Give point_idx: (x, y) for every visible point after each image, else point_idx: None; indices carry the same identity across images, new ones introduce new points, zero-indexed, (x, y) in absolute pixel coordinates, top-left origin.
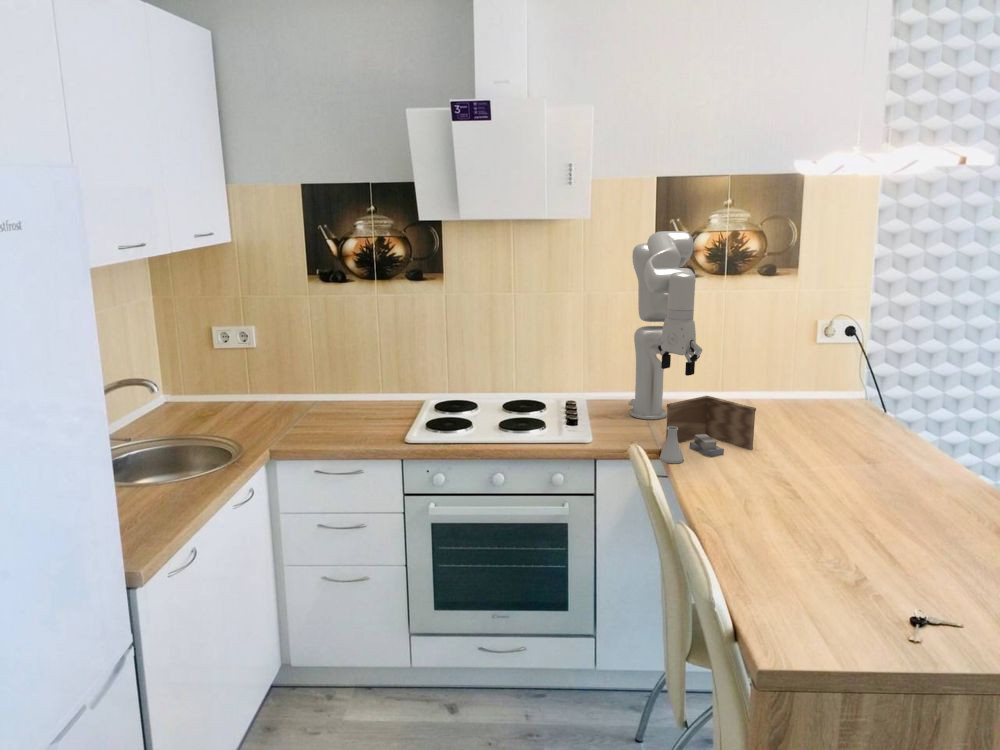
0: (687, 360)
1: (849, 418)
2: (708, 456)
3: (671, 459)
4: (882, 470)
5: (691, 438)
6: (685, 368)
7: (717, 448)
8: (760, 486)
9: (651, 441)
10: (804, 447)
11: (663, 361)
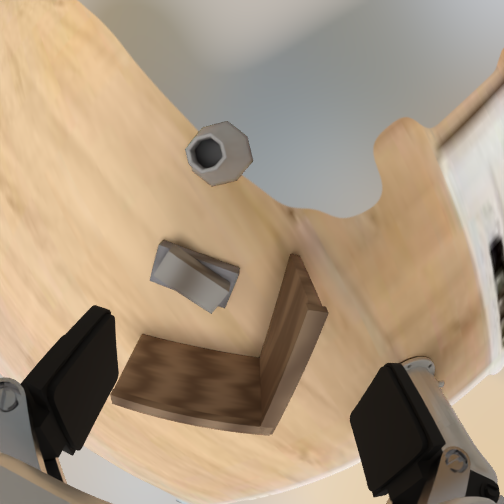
0: (23, 407)
1: (164, 476)
2: (170, 242)
3: (202, 129)
4: (9, 339)
5: (270, 324)
6: (83, 347)
7: None
8: (25, 156)
9: (340, 254)
10: None
11: (408, 409)
